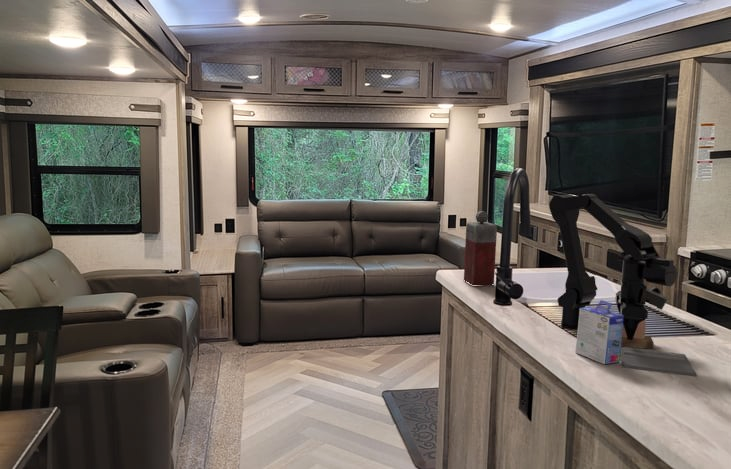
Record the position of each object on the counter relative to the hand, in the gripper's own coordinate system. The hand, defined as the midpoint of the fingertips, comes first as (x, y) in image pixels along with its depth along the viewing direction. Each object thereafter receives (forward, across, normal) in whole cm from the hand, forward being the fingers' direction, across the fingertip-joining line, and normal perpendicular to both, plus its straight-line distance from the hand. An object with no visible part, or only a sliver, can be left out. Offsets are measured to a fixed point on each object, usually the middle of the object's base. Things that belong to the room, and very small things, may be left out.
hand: (628, 334), depth 163 cm
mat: (+2, -13, -5) cm, 14 cm away
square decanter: (+3, +57, +48) cm, 75 cm away
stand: (+2, 0, 0) cm, 2 cm away
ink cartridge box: (+3, -15, +8) cm, 18 cm away
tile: (+2, 0, 0) cm, 2 cm away
